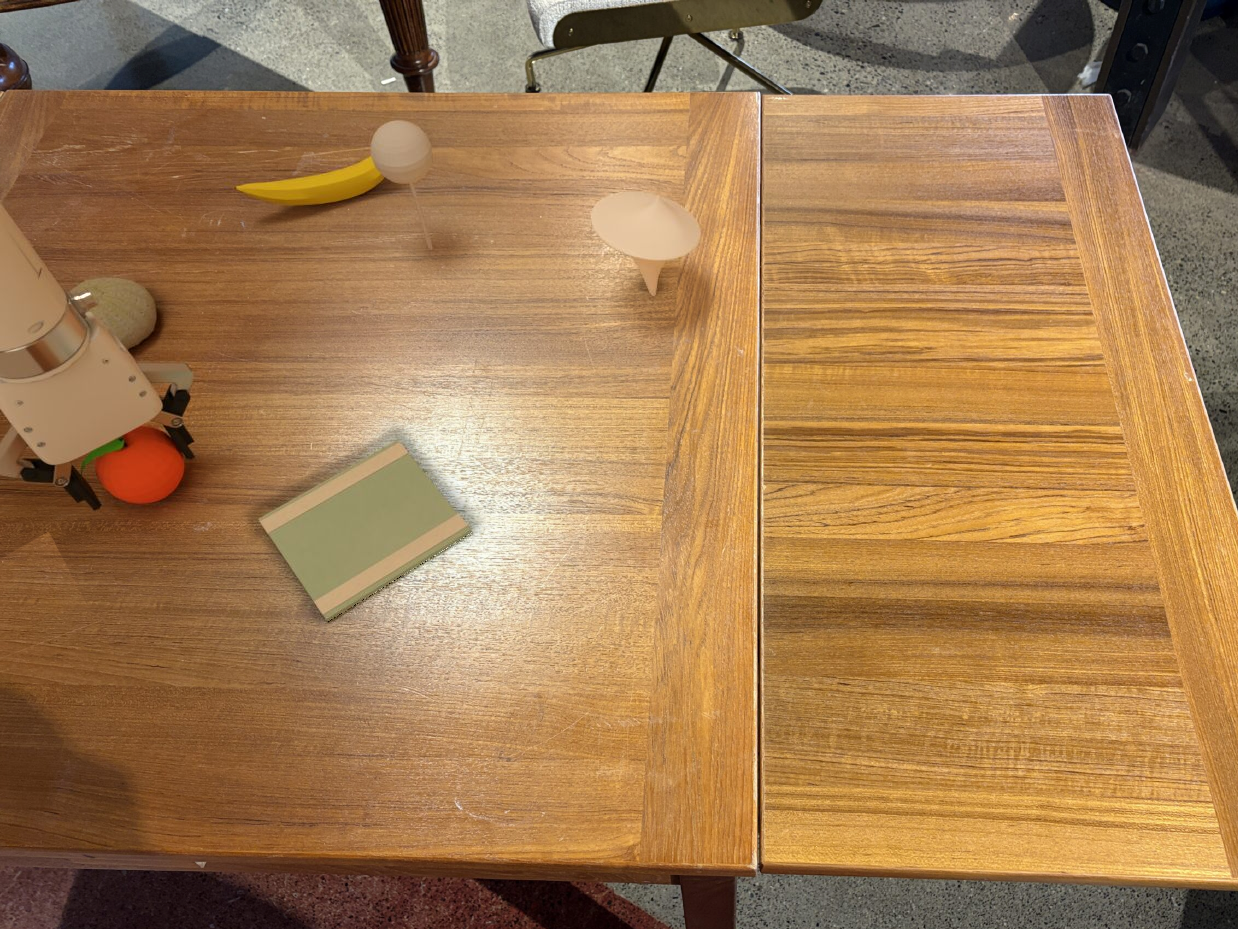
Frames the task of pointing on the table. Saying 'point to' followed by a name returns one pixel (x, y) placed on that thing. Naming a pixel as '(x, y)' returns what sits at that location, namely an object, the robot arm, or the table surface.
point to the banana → (318, 186)
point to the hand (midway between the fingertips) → (139, 473)
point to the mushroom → (646, 230)
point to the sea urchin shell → (122, 308)
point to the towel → (363, 528)
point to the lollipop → (403, 157)
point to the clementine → (139, 465)
